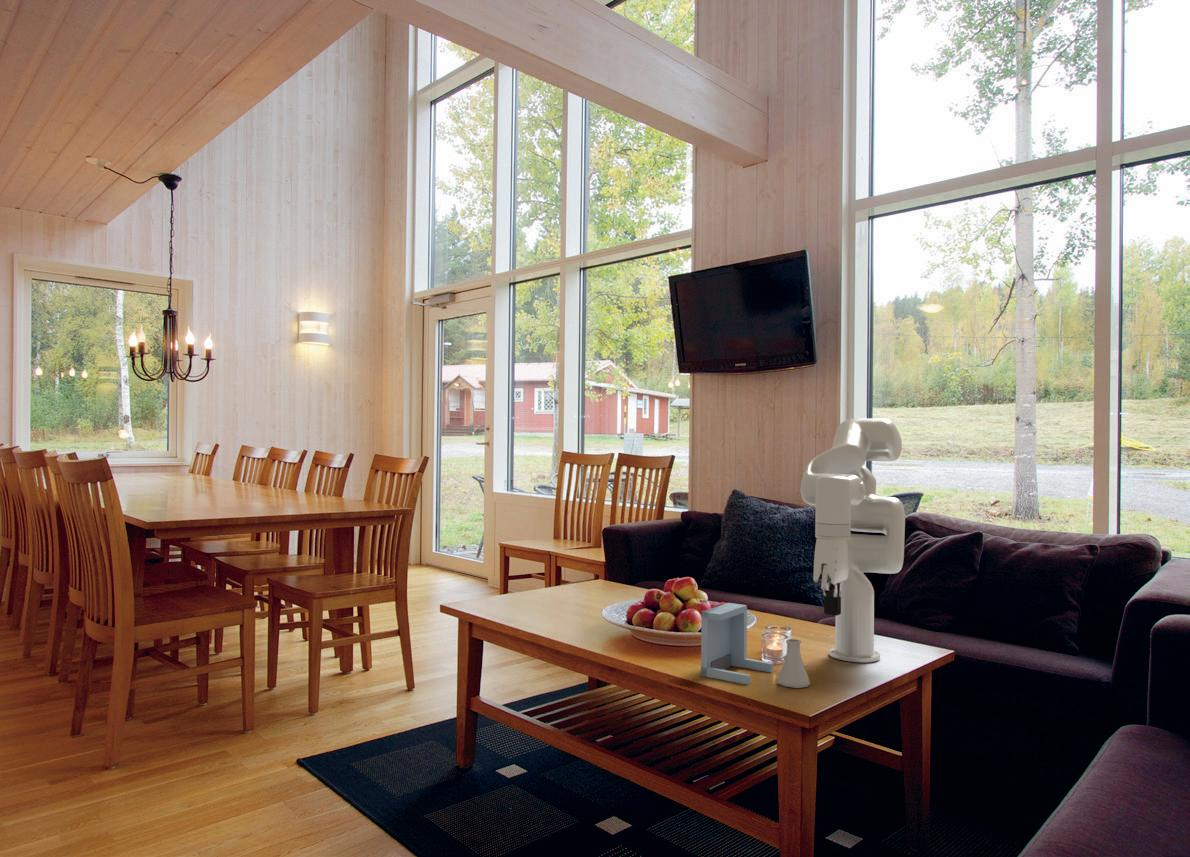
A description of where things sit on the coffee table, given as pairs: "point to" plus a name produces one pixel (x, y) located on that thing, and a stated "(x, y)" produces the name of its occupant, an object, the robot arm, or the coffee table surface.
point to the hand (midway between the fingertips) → (832, 613)
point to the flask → (793, 667)
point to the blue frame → (727, 644)
